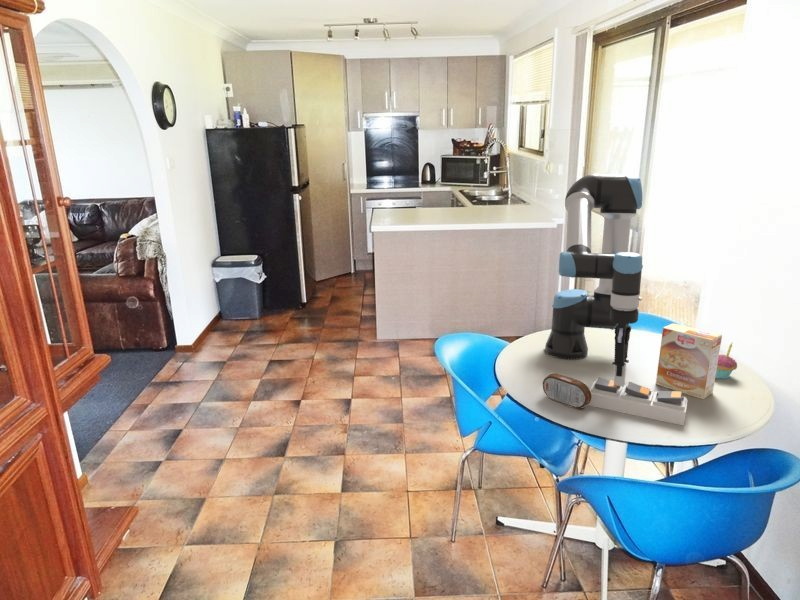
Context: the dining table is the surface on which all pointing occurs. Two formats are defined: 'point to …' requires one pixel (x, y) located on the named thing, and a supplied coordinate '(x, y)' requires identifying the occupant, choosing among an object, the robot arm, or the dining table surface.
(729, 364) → the cupcake
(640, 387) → the rocker middle
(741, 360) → the dining table surface
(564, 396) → the tin
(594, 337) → the dining table surface
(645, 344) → the dining table surface
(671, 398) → the rocker right
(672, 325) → the coffeecake box
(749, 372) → the dining table surface
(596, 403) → the rocker switch box
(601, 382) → the rocker left
